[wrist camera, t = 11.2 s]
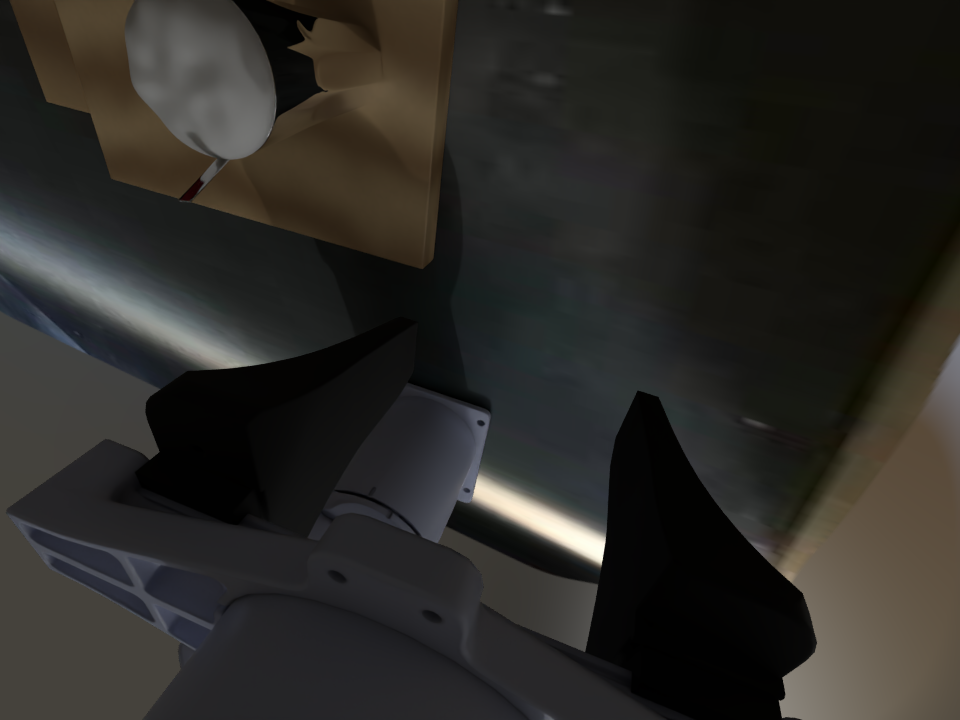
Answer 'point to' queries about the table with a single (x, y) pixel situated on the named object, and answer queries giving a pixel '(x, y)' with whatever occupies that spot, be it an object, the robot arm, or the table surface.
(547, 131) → the table surface
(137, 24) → the milkshake
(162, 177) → the board
